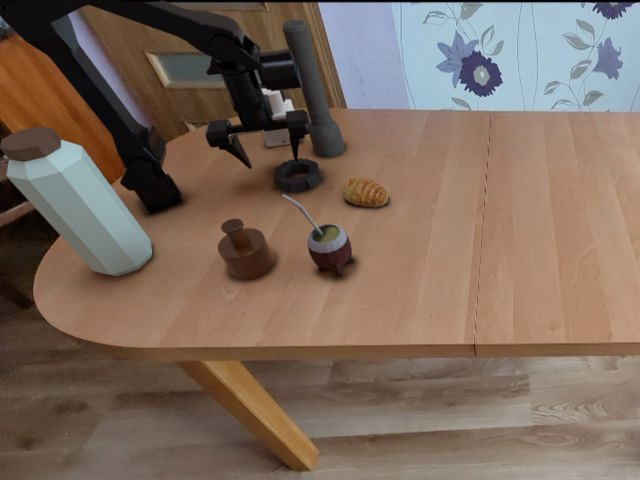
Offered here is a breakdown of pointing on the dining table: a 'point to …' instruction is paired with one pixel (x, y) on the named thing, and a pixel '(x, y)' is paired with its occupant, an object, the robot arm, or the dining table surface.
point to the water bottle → (76, 200)
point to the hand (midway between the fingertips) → (274, 164)
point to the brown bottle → (244, 250)
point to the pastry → (364, 192)
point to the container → (277, 117)
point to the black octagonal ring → (301, 182)
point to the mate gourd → (327, 244)
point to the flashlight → (313, 92)
